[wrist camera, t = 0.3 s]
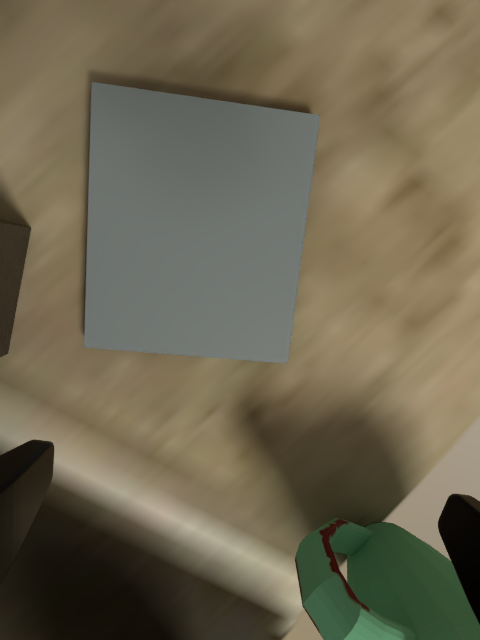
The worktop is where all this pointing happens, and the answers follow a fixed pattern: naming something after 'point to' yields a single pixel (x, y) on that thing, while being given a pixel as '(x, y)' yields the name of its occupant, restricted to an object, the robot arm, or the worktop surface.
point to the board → (195, 224)
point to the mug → (381, 586)
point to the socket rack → (10, 275)
